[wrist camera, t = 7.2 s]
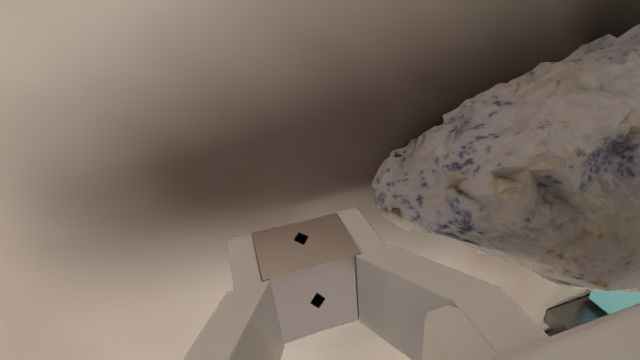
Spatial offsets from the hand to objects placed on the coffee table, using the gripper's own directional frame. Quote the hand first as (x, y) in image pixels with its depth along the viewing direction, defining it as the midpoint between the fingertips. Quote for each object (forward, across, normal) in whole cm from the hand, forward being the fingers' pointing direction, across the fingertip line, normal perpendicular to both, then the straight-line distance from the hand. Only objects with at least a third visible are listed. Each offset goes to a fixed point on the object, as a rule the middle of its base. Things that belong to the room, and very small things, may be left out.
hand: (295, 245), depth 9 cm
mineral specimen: (+2, -8, 0) cm, 9 cm away
